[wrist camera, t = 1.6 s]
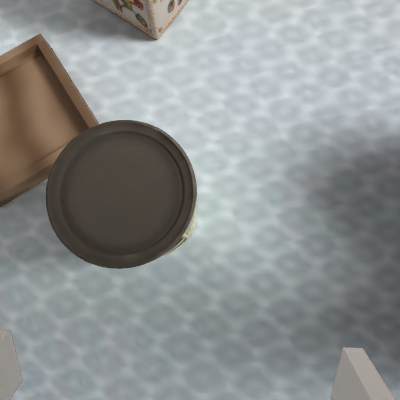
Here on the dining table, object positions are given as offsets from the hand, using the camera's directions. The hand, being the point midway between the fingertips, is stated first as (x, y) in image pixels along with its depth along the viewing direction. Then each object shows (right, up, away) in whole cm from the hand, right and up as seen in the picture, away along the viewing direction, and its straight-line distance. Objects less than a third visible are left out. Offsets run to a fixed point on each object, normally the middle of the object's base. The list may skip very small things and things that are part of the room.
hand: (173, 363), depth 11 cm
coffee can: (-4, +5, +22) cm, 23 cm away
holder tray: (-20, +16, +23) cm, 35 cm away
